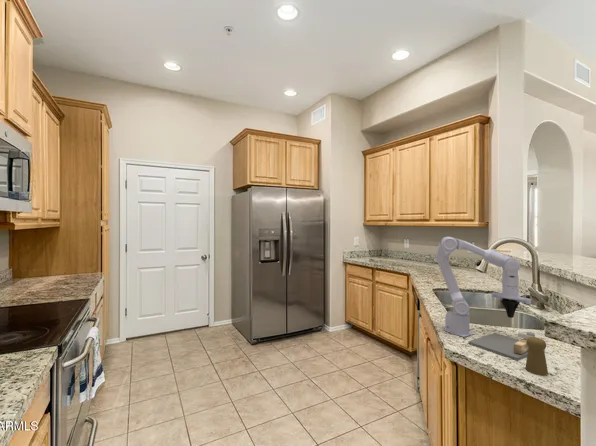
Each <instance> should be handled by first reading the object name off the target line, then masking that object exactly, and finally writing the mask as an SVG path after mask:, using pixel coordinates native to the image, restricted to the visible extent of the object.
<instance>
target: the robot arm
mask: <svg viewBox="0 0 596 446" xmlns="http://www.w3.org/2000/svg"><path fill="white" fill-rule="evenodd" d="M455 250H460V251H461V250H466V251H468V252H470V253H473V254H475V255H477V256H480V257H482V258H483V259H482V260H483V261H485V262H487V263H489V264H492V265H494V266H496V267H498V268H502V274H501V276H502V279H501V283H502V286H501V287H502V291H501V293H500V292H496V291H495V292H494V291H493V292H491V298H497V299H501V301H500V302H501V304H502V305H503V307H504V309H505V312H506V315H507V318H511V319H512V318H514V317H515V313H516V310H517V308H518V307H519V305H520V303H522V304H526V305H531V304H532V298H528V297H523V296H519V295H520V293H519V288H520V283H519V281H520V280H519V271H520V269H521V264H520V262H519V261H518V260H517V259H516V258H513V257H511V256H510V255H509V254H503V253H501V252H499V251H498V250H497V249H494V248H492V249H491V248H489V249H483V248H481V247H479V246H477V245H474V244H473V243H470V242H468V241H466V240H463V239H459V238H455V237H452V236H444V237H443V238H441V240H440V242H438V246H437V250H436V253H435V260H436V262H437V264H438V267H439V270H440V272H441V274H442V278H443V280H444V281H445V285H446V288H447V290H448V292H449V295H450V298H451V306H452V308H453V309H452V310H448V311H447V312H446V314H445V316H444V317H445V319H444V320H445V321H444V322H445V324H444V325H445V326H444V327H445V329H444V332H447V333H450V334H453V335H456V336H459V337H463V338H467V337H469V336H472V335H474V334H475V333H474V332H472V331H470V325H471V324H470V323H471V322H470V309H471V308H470V305H469V304H468V303H467V300H466V299H465V298H464V296H463V294H462V292H461V290H460V288H459V287H460V286H459V284H458V282H457V280H456V278H455V274H454V272H453V270H452V267H451V265H450V262H449V260H448V259H449V257H450V256H451V253H453V252H454V251H455Z"/></svg>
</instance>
